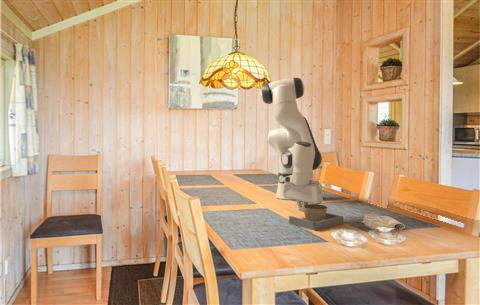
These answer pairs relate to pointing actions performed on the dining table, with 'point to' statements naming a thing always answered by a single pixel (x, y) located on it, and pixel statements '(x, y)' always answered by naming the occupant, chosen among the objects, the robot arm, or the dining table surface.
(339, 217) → the frame
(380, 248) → the dining table surface
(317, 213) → the flower pot
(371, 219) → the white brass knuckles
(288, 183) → the robot arm
